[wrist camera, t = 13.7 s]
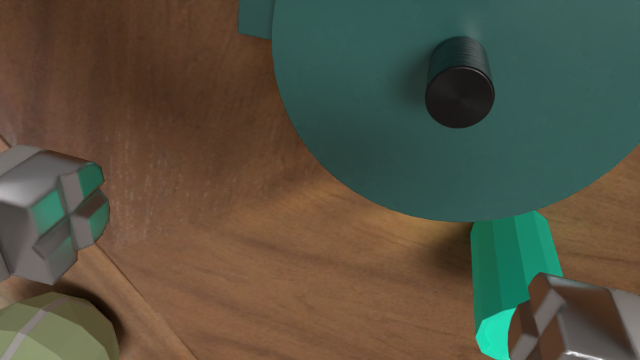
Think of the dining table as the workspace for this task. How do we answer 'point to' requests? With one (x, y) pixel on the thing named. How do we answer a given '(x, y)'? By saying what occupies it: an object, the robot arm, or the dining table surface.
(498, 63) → the lid
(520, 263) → the candle
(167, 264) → the dining table surface
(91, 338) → the tennis ball
